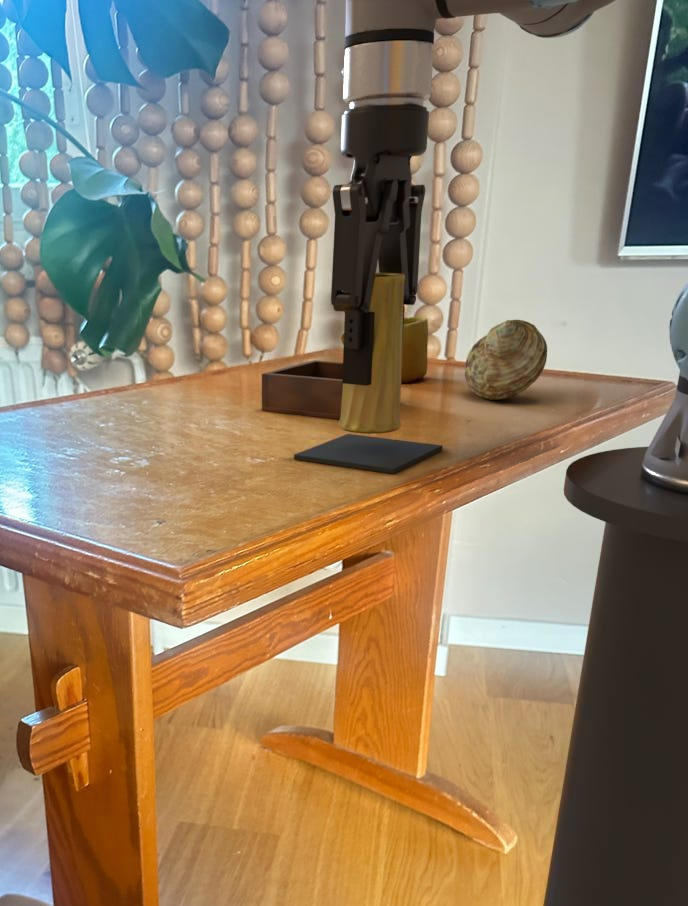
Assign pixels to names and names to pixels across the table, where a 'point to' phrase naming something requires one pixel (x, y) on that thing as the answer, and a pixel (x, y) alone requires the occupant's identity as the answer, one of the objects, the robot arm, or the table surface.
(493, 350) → the seashell
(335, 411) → the bin
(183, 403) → the table surface
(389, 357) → the vase
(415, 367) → the mug
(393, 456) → the mat
